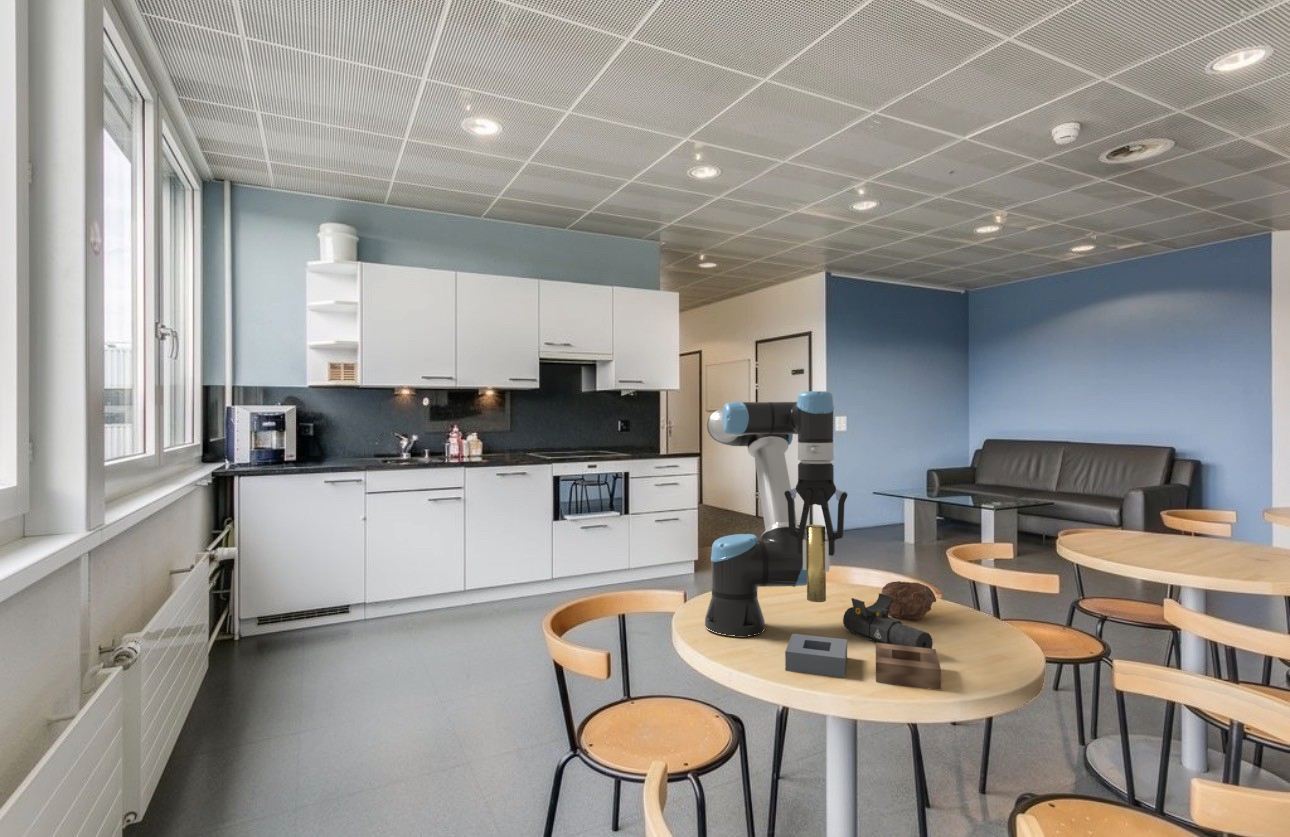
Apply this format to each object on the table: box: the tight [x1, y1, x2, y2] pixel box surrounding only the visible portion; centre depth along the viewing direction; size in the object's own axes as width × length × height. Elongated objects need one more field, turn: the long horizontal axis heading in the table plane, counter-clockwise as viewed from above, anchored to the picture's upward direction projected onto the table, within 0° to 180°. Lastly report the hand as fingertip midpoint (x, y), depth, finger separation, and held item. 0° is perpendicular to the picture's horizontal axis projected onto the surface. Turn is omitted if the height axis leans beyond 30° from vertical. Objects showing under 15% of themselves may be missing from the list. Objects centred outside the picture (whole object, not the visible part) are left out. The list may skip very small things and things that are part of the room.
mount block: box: [784, 633, 848, 679], centre depth 137 cm, size 12×12×4 cm
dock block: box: [875, 642, 942, 690], centre depth 131 cm, size 12×12×4 cm
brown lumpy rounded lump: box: [881, 580, 937, 621], centre depth 170 cm, size 13×11×10 cm
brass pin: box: [806, 524, 827, 603], centre depth 137 cm, size 4×4×16 cm
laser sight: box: [842, 592, 934, 649], centre depth 150 cm, size 10×22×10 cm, turn 27°
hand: (816, 569), depth 137 cm, fingers closed on brass pin, 4 cm apart
